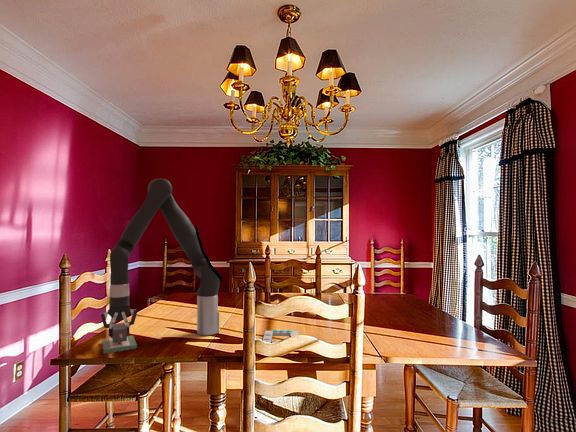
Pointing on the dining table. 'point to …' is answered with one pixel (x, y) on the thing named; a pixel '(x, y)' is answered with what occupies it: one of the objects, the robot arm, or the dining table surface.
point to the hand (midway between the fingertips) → (118, 336)
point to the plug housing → (119, 332)
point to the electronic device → (269, 334)
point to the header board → (118, 345)
